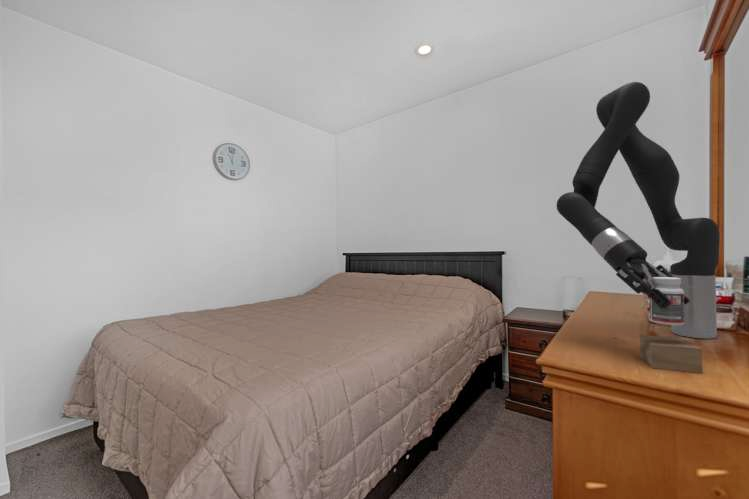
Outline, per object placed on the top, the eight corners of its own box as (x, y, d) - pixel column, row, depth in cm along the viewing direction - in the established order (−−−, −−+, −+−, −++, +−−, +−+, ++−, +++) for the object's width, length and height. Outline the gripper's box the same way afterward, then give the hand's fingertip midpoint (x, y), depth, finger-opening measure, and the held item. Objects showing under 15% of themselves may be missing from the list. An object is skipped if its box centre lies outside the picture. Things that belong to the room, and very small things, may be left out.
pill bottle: (691, 326, 68) (691, 279, 67) (660, 325, 69) (660, 279, 69) (672, 320, 73) (672, 276, 73) (643, 319, 74) (643, 276, 74)
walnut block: (640, 356, 76) (639, 335, 76) (684, 360, 73) (684, 338, 73) (652, 368, 69) (651, 344, 69) (702, 373, 66) (701, 348, 66)
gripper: (608, 238, 75) (670, 296, 64) (648, 238, 80) (712, 292, 69) (586, 260, 80) (640, 318, 69) (625, 259, 85) (682, 312, 74)
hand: (676, 304), depth 69 cm, fingers closed on pill bottle, 5 cm apart
